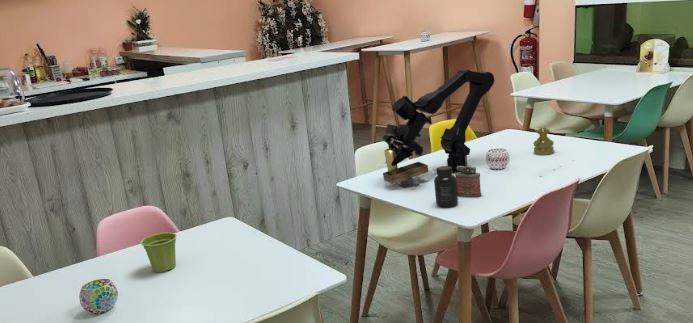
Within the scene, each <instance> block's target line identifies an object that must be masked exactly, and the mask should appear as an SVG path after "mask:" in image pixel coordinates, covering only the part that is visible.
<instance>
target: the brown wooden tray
mask: <svg viewBox="0 0 693 323" xmlns="http://www.w3.org/2000/svg"><path fill="white" fill-rule="evenodd" d="M429 171H430V170H429V166H428V164H426V163H423V162H421V161H416V162H413V163H410V164H407V165H403V166H400V167H398V172H399V174H397V175H394V176H390V175H388V171H385V172H383V173H382V175H383V180H384V181H385V182H387V183H389V184H392V185H396V184H395V183H398V182H401V181H404V180H407V179H410V178H413V179H414V178H415V177H418V176H421V175H425V174H427V173H430V172H429Z"/></svg>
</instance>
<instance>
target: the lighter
mask: <svg viewBox="0 0 693 323" xmlns="http://www.w3.org/2000/svg"><path fill="white" fill-rule="evenodd" d="M457 171H461V172H454V176H455V177H456V183H457V196H458V197H459V198H471V199H472V198H481V197H482V189H481V173H480V172H477V167H476V166H471V165H468V164H467V167H464V166H457ZM463 171H465V172H463Z"/></svg>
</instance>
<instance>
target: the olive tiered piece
mask: <svg viewBox="0 0 693 323" xmlns="http://www.w3.org/2000/svg"><path fill="white" fill-rule="evenodd" d="M535 132H536V133H537V134H538V135H539V136H538V138H536V140H534V141H533V146H534V147H533V153H534V155H537V156H549V155H552V154H554V153H555V151H554V141H553V140H552V139H550V137H549V136H548V134H549V133H551V130H550V129H549V128H546V127H540V128H538V129H536V131H535Z"/></svg>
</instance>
